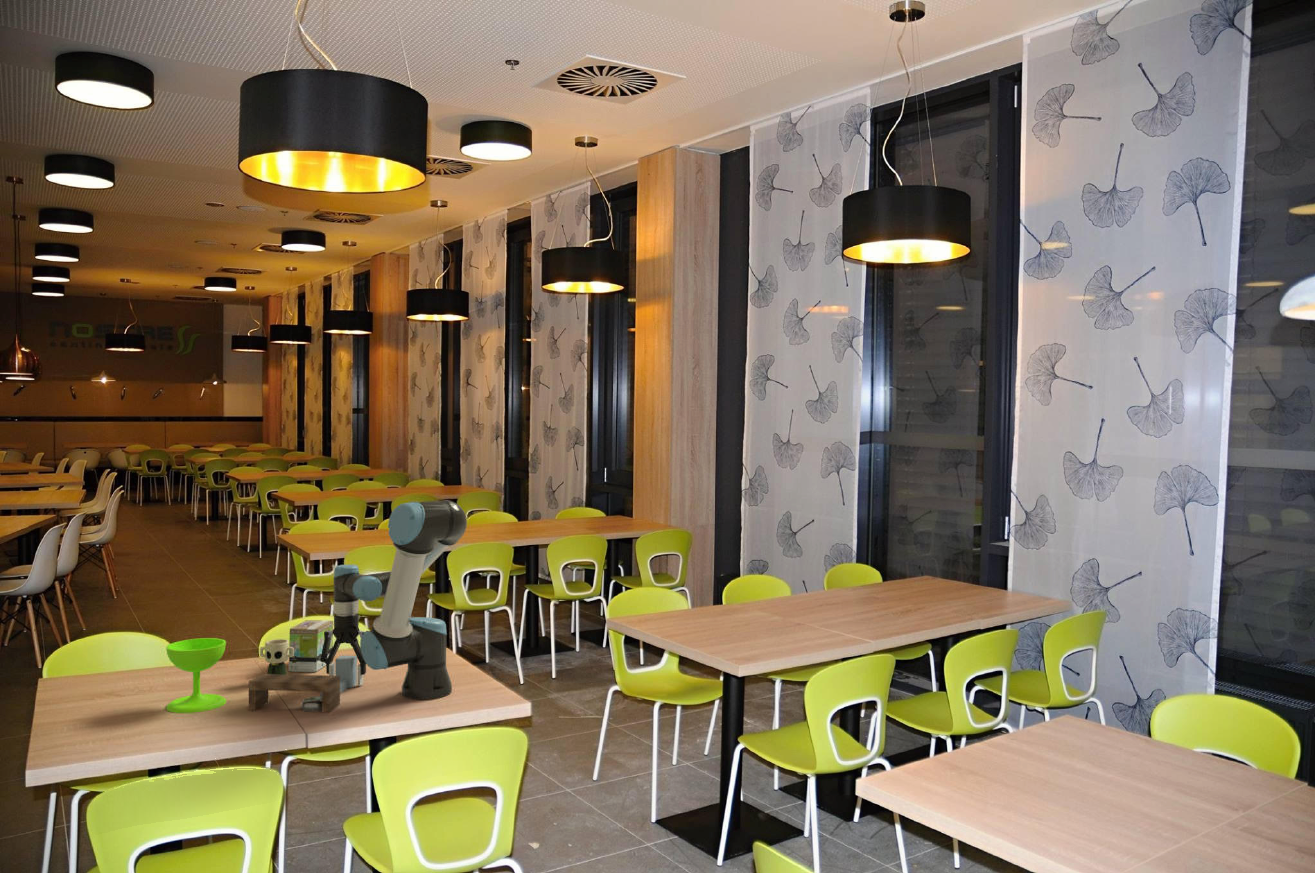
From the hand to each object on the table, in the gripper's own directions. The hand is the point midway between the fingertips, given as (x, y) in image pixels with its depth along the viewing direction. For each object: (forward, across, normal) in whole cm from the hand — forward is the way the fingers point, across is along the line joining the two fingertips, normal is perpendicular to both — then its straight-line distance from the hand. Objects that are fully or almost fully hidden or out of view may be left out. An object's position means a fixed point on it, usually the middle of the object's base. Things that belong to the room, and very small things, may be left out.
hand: (346, 684), depth 301 cm
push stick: (0, 0, +7) cm, 7 cm away
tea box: (+1, +21, -22) cm, 30 cm away
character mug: (+1, +24, -2) cm, 24 cm away
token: (+1, 0, +24) cm, 24 cm away
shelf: (0, +6, +24) cm, 24 cm away
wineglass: (+1, +36, +24) cm, 43 cm away
